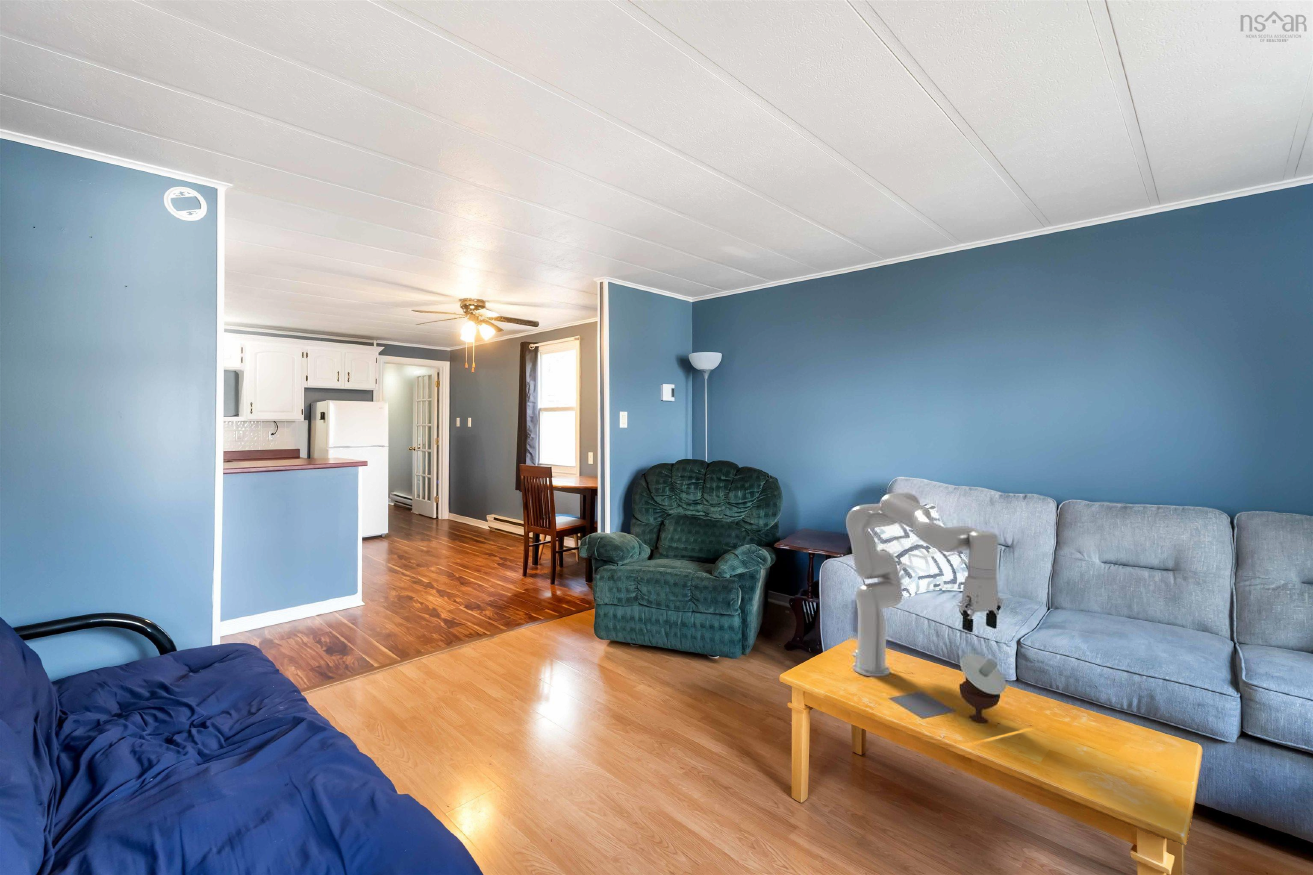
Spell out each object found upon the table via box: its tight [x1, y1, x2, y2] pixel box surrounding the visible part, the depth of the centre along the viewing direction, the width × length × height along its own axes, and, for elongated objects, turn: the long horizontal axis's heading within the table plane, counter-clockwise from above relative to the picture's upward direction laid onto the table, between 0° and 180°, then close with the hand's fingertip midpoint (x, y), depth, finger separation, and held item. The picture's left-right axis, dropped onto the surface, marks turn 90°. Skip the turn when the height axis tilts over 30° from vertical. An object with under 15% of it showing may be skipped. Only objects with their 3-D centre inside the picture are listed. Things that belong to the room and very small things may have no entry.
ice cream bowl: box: [958, 675, 1001, 725], centre depth 174 cm, size 11×11×15 cm
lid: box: [959, 653, 1007, 695], centre depth 171 cm, size 13×13×6 cm
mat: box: [887, 691, 957, 720], centre depth 182 cm, size 14×14×1 cm
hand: (979, 628), depth 174 cm, fingers open, 9 cm apart
